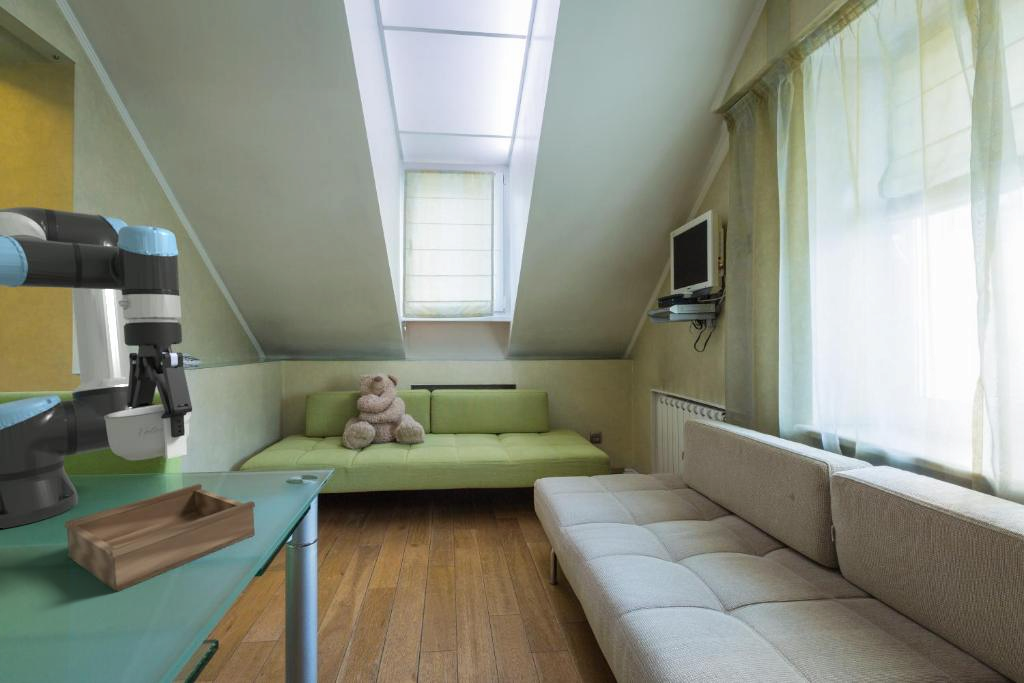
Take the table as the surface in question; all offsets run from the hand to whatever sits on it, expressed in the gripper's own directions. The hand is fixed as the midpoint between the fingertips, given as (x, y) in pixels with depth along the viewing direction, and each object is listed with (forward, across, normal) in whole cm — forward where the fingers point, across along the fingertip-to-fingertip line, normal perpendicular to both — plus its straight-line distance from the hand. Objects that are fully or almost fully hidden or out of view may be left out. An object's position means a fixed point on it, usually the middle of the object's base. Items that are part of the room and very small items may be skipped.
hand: (160, 452), depth 75 cm
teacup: (0, -1, 0) cm, 1 cm away
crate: (+16, 0, 0) cm, 16 cm away
